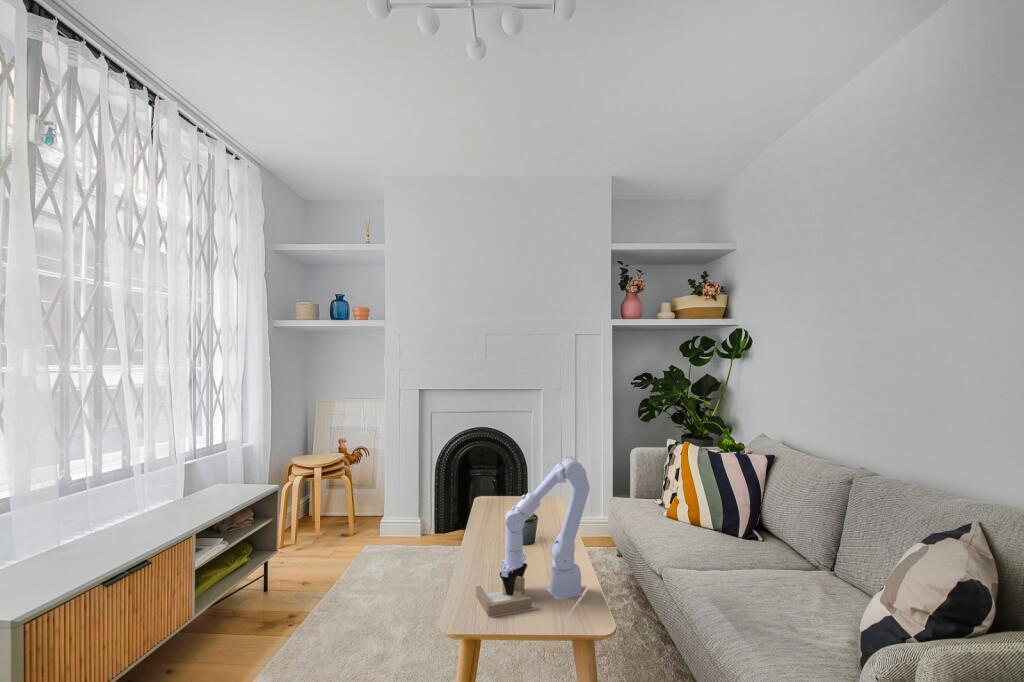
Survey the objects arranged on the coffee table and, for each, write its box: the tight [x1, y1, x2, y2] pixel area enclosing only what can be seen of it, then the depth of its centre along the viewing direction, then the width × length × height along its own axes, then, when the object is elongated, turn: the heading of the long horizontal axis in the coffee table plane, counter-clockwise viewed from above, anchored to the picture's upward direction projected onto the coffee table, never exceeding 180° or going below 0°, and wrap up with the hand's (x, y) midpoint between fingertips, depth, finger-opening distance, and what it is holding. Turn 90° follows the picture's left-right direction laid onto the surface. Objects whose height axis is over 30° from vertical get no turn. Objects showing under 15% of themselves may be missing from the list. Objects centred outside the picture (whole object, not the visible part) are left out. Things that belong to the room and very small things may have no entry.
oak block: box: [502, 576, 526, 598], centre depth 161 cm, size 4×6×5 cm, turn 65°
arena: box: [475, 585, 538, 619], centre depth 155 cm, size 16×14×4 cm
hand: (513, 590), depth 161 cm, fingers open, 6 cm apart
